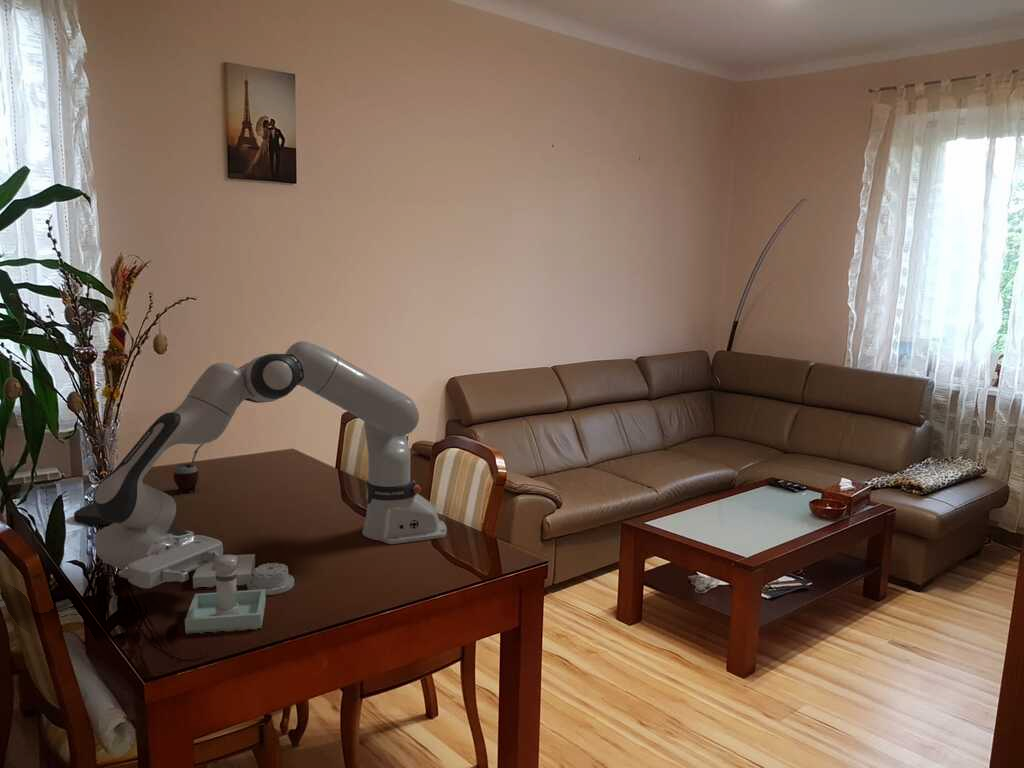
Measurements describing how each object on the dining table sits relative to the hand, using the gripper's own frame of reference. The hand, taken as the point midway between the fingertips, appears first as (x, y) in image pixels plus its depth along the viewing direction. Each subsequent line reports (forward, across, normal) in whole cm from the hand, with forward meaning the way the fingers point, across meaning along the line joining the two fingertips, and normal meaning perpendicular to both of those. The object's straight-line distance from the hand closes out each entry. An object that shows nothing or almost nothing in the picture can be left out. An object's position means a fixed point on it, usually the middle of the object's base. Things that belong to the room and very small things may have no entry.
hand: (204, 569), depth 159 cm
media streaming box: (-69, +30, +10) cm, 75 cm away
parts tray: (+6, 0, +9) cm, 11 cm away
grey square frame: (-10, +15, +9) cm, 21 cm away
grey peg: (+6, 0, +9) cm, 10 cm away
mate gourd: (-69, +57, +9) cm, 90 cm away
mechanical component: (+2, +16, +10) cm, 19 cm away
